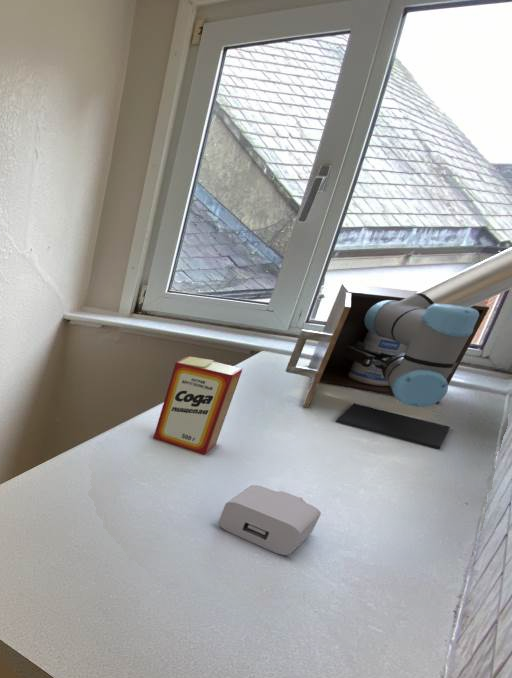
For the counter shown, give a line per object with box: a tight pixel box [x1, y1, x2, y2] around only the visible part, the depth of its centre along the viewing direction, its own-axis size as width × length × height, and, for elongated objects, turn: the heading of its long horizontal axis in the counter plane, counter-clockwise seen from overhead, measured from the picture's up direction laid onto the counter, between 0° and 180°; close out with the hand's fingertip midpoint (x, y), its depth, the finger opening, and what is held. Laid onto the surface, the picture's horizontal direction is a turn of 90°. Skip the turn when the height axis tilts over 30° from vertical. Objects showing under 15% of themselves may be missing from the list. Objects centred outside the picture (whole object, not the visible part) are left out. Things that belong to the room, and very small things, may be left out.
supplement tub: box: [348, 331, 408, 386], centre depth 143 cm, size 10×10×15 cm
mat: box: [335, 403, 451, 450], centre depth 120 cm, size 17×17×1 cm
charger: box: [218, 484, 321, 556], centre depth 80 cm, size 5×9×15 cm
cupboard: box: [308, 283, 491, 405], centre depth 142 cm, size 18×26×24 cm
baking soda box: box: [152, 355, 244, 456], centre depth 104 cm, size 10×6×16 cm
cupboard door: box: [285, 293, 351, 408], centre depth 134 cm, size 7×26×23 cm, turn 141°
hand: (391, 352), depth 135 cm, fingers open, 13 cm apart
